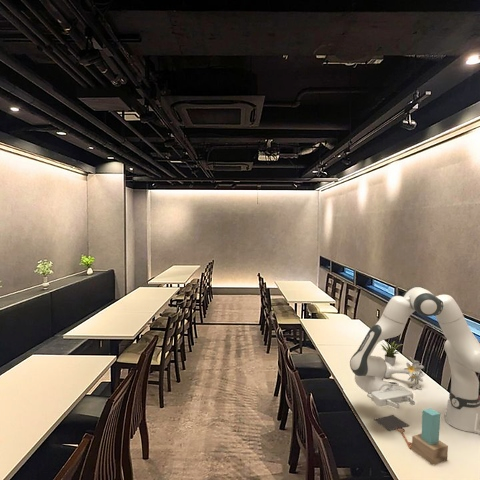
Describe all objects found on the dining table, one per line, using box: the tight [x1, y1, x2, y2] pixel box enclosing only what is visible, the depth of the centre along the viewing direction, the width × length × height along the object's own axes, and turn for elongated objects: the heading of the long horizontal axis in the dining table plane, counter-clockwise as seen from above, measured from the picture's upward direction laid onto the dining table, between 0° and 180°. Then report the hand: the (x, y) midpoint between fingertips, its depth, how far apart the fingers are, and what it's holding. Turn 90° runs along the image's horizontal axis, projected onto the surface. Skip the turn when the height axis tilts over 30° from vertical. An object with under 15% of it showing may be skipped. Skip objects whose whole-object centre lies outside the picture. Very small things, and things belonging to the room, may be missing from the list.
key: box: [396, 427, 412, 450], centre depth 160 cm, size 6×1×15 cm
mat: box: [373, 414, 410, 432], centre depth 173 cm, size 12×10×1 cm
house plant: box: [380, 339, 404, 367], centre depth 246 cm, size 14×14×16 cm
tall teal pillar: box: [420, 408, 441, 445], centre depth 149 cm, size 4×4×12 cm
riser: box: [411, 433, 449, 466], centre depth 149 cm, size 8×10×6 cm
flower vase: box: [384, 356, 425, 391], centre depth 219 cm, size 13×18×25 cm
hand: (406, 405), depth 160 cm, fingers open, 8 cm apart
